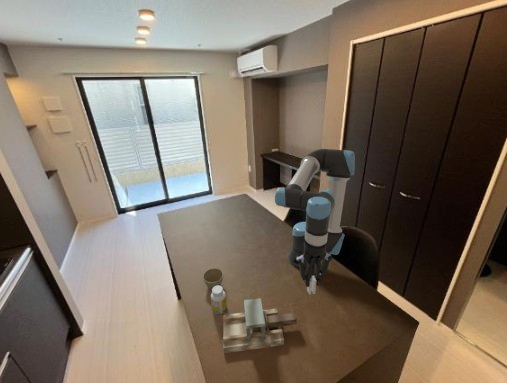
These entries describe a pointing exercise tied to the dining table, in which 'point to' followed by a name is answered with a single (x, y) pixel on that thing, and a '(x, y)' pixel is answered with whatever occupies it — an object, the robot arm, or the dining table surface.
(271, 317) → the tan wooden bar
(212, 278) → the flower pot
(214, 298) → the pill bottle
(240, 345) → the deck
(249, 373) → the dining table surface
